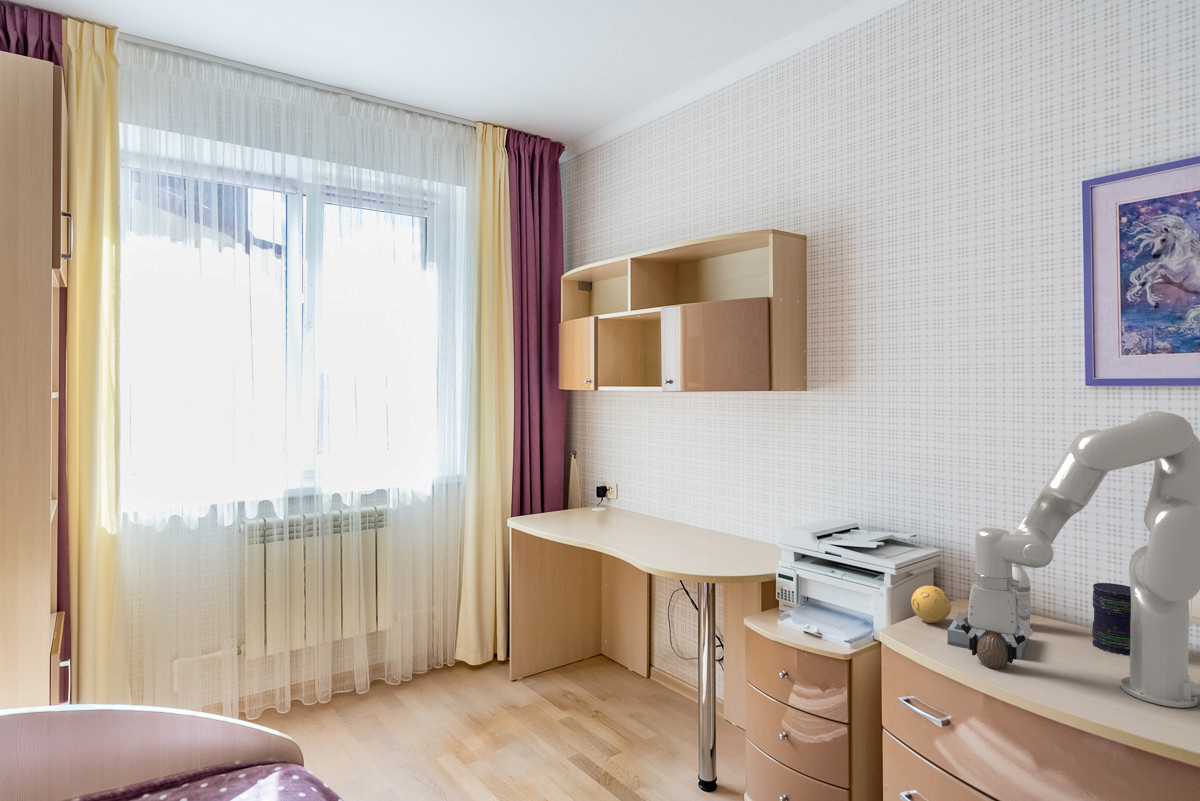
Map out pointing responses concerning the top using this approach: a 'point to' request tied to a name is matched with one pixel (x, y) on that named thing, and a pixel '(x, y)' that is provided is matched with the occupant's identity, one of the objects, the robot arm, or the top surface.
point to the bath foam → (1022, 592)
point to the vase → (992, 650)
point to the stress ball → (931, 604)
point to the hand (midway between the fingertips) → (992, 656)
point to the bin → (962, 640)
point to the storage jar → (1112, 617)
